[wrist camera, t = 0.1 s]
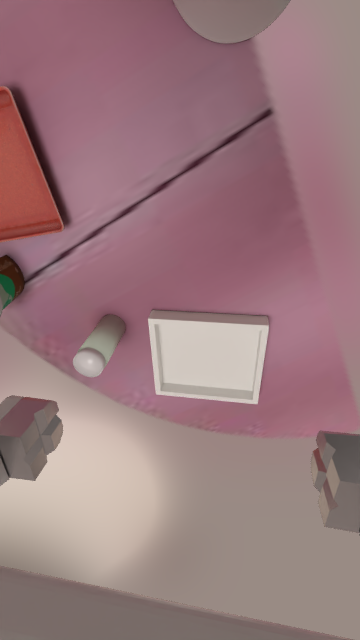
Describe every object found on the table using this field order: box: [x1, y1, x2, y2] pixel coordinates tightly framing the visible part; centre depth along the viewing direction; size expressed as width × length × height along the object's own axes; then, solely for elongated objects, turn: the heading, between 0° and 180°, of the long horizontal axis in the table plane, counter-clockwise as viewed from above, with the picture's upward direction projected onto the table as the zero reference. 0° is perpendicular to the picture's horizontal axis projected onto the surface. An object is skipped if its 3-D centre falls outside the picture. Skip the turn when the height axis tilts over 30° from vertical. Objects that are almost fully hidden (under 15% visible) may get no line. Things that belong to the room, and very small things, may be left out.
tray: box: [148, 310, 269, 404], centre depth 56 cm, size 18×20×3 cm
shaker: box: [73, 315, 126, 377], centre depth 52 cm, size 5×5×12 cm
